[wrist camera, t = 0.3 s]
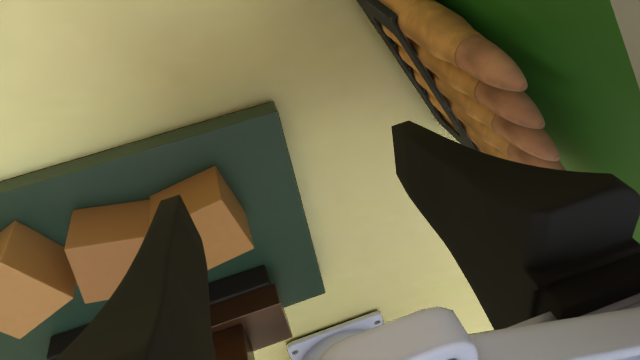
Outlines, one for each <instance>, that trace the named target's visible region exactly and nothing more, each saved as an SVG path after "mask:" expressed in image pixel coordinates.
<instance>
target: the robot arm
mask: <svg viewBox="0 0 640 360" xmlns="http://www.w3.org/2000/svg"><path fill="white" fill-rule="evenodd" d="M392 134H393V144H394V154H395V164H396V174H397V176H398V178H399V180H400V181H401V183H402V185H403V187H404V189H405V190H406V192H407V194H408V196H409V197H410V199H411V200H412V201H413V203H414V204H415V205H416V207H417V208H418V209H419V211H420V212H421V213H422V214H423V216H424V217H425V218H426V220H427V221H428V222H429V224H430V225H431V226H432V227H433V229H434V230H435V231H436V233H437V234H438V235H439V237H440V238H441V239H442V240H443V242H444V243H445V245H446V246H447V247H448V249H449V250H450V252H451V253H452V255H453V257H454V258H455V260H456V262H457V263H458V265H459V267H460V268H461V270H462V272H463V273H464V275H465V277H466V279H467V280H468V282H469V284H470V286H471V287H472V289H473V291H474V293H475V294H476V296H477V298H478V300H479V302H480V304H481V306H482V307H483V309H484V311H485V313H486V315H487V317H488V319H489V320H490V322H491V324H492V326H493V328H494V330H492V331H486V332H480V333H473V334H467V332H466V331H465V329H464V327H463V326H462V324H461V323H460V321H459V320H458V318H457V316H456V315H455V313H454V312H453V310H449V309H446V308H442V307H433V308H428V309H423V310H419V311H417V312H414V313H411V314H409V315H406V316H403V317H401V318H398V319H395V320H392V321H390V322H387V323H384V324H383V319H382V315H381V313H380V312H379V311H375V312H372V313H369V314H367V315H364V316H361V317H358V318H356V319H353V320H350V321H347V322H345V323H342V324H339V325H336V326H333V327H331V328H328V329H325V330H322V331H320V332H317V333H314V334H311V335H309V336H306V337H303V338H300V339H297V340H295V341H292V342H290V343H289V344H288V345H287V350H288V353H289V355H290V358H291V360H640V253H639V252H640V244H639V243H638V242H637V241H636V240H635V239H633V238H632V236H633V233H634V230H635V228H636V225H637V222H638V219H639V216H640V195H639V194H638V193H637V192H636V191H635V190H634V189H633V188H631V187H630V186H628V185H627V184H626V183H624V182H623V181H621V180H620V179H619V178H617V177H616V176H614V175H613V174H611V173H592V172H575V171H566V170H557V169H550V168H543V167H538V166H533V165H528V164H522V163H518V162H514V161H510V160H506V159H503V158H499V157H495V156H492V155H489V154H486V153H483V152H480V151H477V150H475V149H472V148H469V147H467V146H464V145H462V144H459V143H457V142H454V141H452V140H450V139H448V138H445V137H443V136H441V135H439V134H437V133H434V132H432V131H430V130H428V129H426V128H424V127H422V126H420V125H417V124H415V123H413V122H411V121H406V122H403V123H400V124H397V125H394V126H392ZM55 360H216V356H215V350H214V344H213V339H212V330H211V318H210V301H209V285H208V270H207V262H206V257H205V252H204V247H203V242H202V238H201V236H200V234H199V232H198V230H197V228H196V226H195V224H194V222H193V220H192V218H191V216H190V214H189V212H188V210H187V208H186V206H185V204H184V202H183V200H182V198H181V196H180V195H176V196H173V197H170V198H167V199H164V200H161V201H160V203H159V205H158V208H157V210H156V212H155V215H154V217H153V220H152V222H151V224H150V227H149V229H148V231H147V234H146V236H145V238H144V240H143V242H142V244H141V247H140V249H139V251H138V253H137V254H136V256H135V258H134V260H133V262H132V264H131V266H130V267H129V269H128V271H127V273H126V275H125V276H124V278H123V280H122V281H121V283H120V284H119V286H118V287H117V289H116V290H115V292H114V293H113V294H112V296H111V297H110V299H109V300H108V301H107V302H106V304H105V305H104V306H103V307H102V309H101V310H100V311H99V313H98V314H97V315H96V316H95V318H94V319H93V320H92V321H91V322H90V324H89V325H88V326H87V327H86V328H85V329H84V330H83V331H82V333H81V334H80V335H79V336H78V337H77V338H76V339H75V340H74V341H73V342H72V343H71V344H70V345H69V346H68V347H67V348H66V349H65V350H64V351H63V352H62V353H61V354H60V355H59V356H58V357H57V358H56V359H55Z"/></svg>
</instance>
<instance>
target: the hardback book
mask: <svg viewBox="0 0 640 360" xmlns="http://www.w3.org/2000/svg"><path fill="white" fill-rule="evenodd" d="M436 2H438V3H440V4H442V5H443V6H445V7H447V8H449V9H450V10H452V11H454V12H455V13H457V14H459V15H460V16H461V17H463V18H464V19H465V20H466V21H467V22H468V23H469V24H470V25H471V26H472V28H473V29H474V30H476V31H477V32H479V33H480V34H482V35H483V36H484V37H485V38H486V39H488V40H489V41H491V42H492V43H494V44H495V45H497V46H498V47H499V48H500V49H502V50H503V51H504V52H505V53H506V54H508V55H509V56H510V57H511V58H512V59H513V60H514V62H515V63H516V64H517V65H518V67H519V68H520V69H521V71H522V72H523V74H524V76H525V78H526V81H527V84H528V87H527V89H526V90H525V91H524V92H525V93H526V94H527V95H528V96H529V97H530V98H531V99H532V101H533V102H534V103H535V105H536V106H537V107H538V109H539V110H540V112H541V114H542V116H543V119H544V122H545V126H544V127H543V129H544V130H545V131H546V132H547V134H548V135H549V136H550V138H551V139H552V141H553V142H554V144H555V146H556V147H557V150H558V152H559V155H560V159H559V161H560V162H561V164H562V165H563V167H564V168H565V169H566V171H575V172H592V173H611V174H613V175H614V176H616V177H617V178H619V179H620V180H621V181H623V182H624V183H626V184H627V185H628V186H630V187H631V188H633V189H634V190H635V191H636V192H637V193H638V194H639V195H640V0H436ZM632 238H633V239H635V240H636V241H637V242H638V243H639V244H640V216H639V219H638V222H637V225H636V228H635V230H634V233H633V236H632Z"/></svg>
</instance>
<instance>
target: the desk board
mask: <svg viewBox="0 0 640 360" xmlns="http://www.w3.org/2000/svg"><path fill="white" fill-rule="evenodd" d="M213 166H216V167H217V169H218V171H219V172H220V174H221V175H222V177H223V178H224V180H225V181H226V183H227V185H228V186H229V188H230V189H231V191H232V192H233V194H234V195H235V197H236V199H237V200H238V202H239V203H240V205H241V206H242V208H243V209H244V211H245V213H246V216H247V220H248V224H249V228H250V232H251V236H252V240H253V245H254V249H251V250H249V251H247V252H245V253H243V254H241V255H239V256H237V257H235V258H232V259H230V260H228V261H226V262H224V263H222V264H220V265H218V266H215V267H213V268H211V269H209V270H208V283H211V282H214V281H217V280H220V279H223V278H226V277H229V276H232V275H235V274H237V273H240V272H243V271H246V270H249V269H252V268H255V267H258V266H261V265H265V267H266V270H267V273H268V275H269V278H270V281H271V284H275V285H276V288H277V291H278V294H279V296H280V299H281V302H282V305H283V307H287V306H290V305H292V304H295V303H298V302H301V301H304V300H307V299H309V298H312V297H315V296H318V295H321V294H324V293H325V289H324V285H323V281H322V278H321V274H320V270H319V266H318V262H317V259H316V255H315V251H314V247H313V243H312V240H311V236H310V232H309V228H308V224H307V221H306V217H305V213H304V209H303V205H302V202H301V198H300V194H299V190H298V186H297V183H296V179H295V175H294V171H293V167H292V164H291V160H290V156H289V152H288V148H287V145H286V141H285V137H284V133H283V129H282V126H281V122H280V118H279V114H278V111H277V109H276V106H275V104H274V102H273V101H272V102H268V103H265V104H262V105H258V106H255V107H252V108H248V109H245V110H241V111H238V112H235V113H231V114H228V115H225V116H221V117H218V118H214V119H211V120H208V121H204V122H201V123H198V124H194V125H191V126H187V127H184V128H181V129H177V130H174V131H170V132H167V133H164V134H160V135H157V136H154V137H150V138H147V139H143V140H140V141H137V142H133V143H130V144H127V145H123V146H120V147H116V148H113V149H110V150H106V151H103V152H100V153H96V154H93V155H89V156H86V157H83V158H79V159H76V160H73V161H69V162H66V163H62V164H59V165H56V166H52V167H49V168H46V169H42V170H39V171H35V172H32V173H29V174H25V175H22V176H18V177H15V178H12V179H8V180H5V181H2V182H0V232H1V231H3V230H4V229H5V228H6V227H8V226H9V225H10V224H11V223H12V222H14V221H15V220H16V221H18V222H20V223H22V224H24V225H25V226H27V227H29V228H31V229H33V230H34V231H36V232H38V233H40V234H42V235H43V236H45V237H47V238H49V239H50V240H52V241H54V242H56V243H58V244H59V245H61V246H63V247H65V244H66V239H67V234H68V230H69V225H70V221H71V216H72V212H73V210H75V209H83V208H90V207H97V206H105V205H112V204H120V203H127V202H134V201H142V200H149V199H150V196H151V195H153V194H155V193H158V192H160V191H162V190H164V189H166V188H168V187H170V186H173V185H175V184H177V183H179V182H181V181H183V180H185V179H187V178H190V177H192V176H194V175H196V174H198V173H200V172H202V171H205V170H207V169H209V168H211V167H213ZM107 301H108V300H104V301H98V302H93V303H87V304H85V302H84V300H83V297H82V295H81V292H80V290H79V287H78V284H77V282H76V286H75V292H74V298H73V299H72V300H70V301H69V302H68V303H66V304H65V305H64V306H63V307H61V308H60V309H59V310H57V311H56V312H55V313H53V314H52V315H51V316H49V317H48V318H47V319H46V320H44V321H43V322H42V323H40V324H39V325H38V326H36V327H35V328H34V329H33V330H31V331H30V332H29V333H27V334H26V335H25V336H23V337H22V338H21V339H18V338H15V337H13V336H10V335H8V334H5V333H3V332H0V360H47V353H48V348H49V343H50V338H51V337H52V336H54V335H57V334H60V333H63V332H66V331H69V330H72V329H75V328H78V327H81V326H84V325H87V324H90V322H91V321H92V320H93V319H94V318H95V316H96V315H97V314H98V313H99V311H100V310H101V309H102V307H103V306H104V305H105V304H106V302H107Z"/></svg>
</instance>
